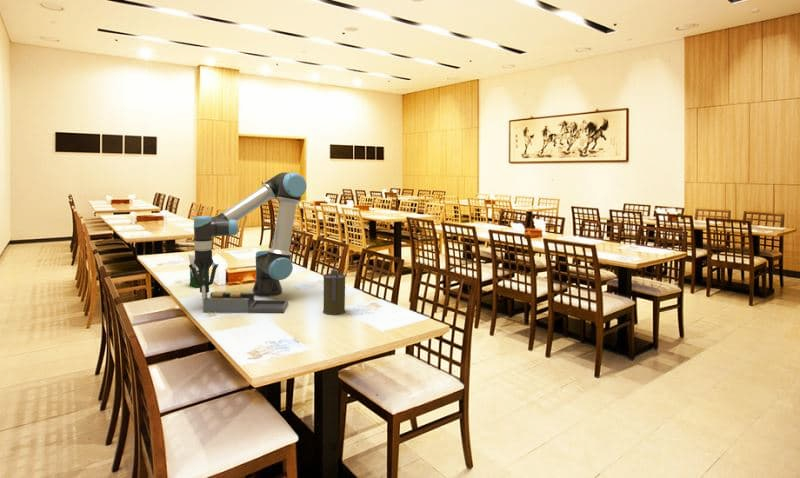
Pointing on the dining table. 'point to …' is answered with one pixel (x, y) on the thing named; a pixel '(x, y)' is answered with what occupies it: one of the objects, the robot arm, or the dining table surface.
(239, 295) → the brass block
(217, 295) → the brass block
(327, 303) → the canister
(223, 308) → the slot plate
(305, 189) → the robot arm
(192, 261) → the milk carton
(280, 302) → the tray
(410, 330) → the dining table surface
